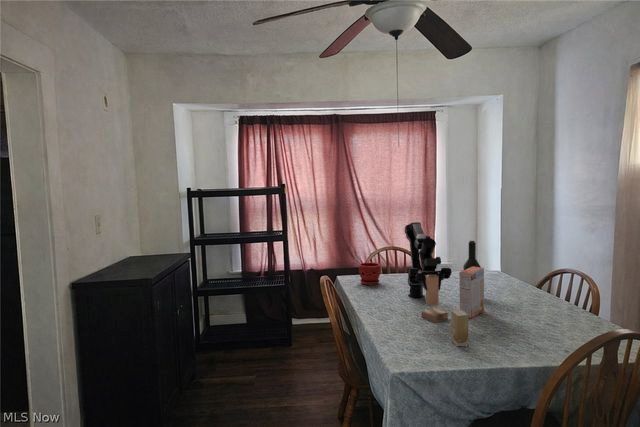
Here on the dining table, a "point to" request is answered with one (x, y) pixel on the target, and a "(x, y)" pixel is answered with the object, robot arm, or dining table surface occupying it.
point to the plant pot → (369, 273)
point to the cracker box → (472, 291)
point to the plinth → (434, 315)
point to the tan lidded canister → (432, 289)
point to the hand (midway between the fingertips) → (432, 289)
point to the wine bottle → (471, 256)
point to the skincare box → (459, 327)
